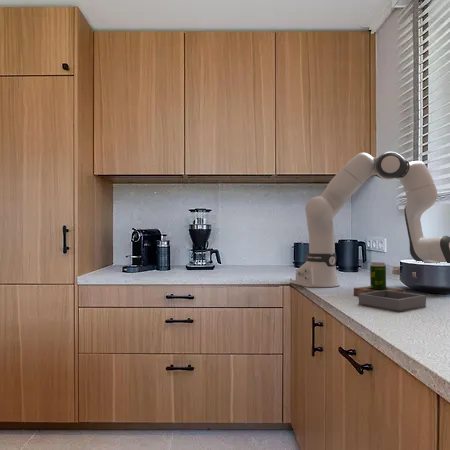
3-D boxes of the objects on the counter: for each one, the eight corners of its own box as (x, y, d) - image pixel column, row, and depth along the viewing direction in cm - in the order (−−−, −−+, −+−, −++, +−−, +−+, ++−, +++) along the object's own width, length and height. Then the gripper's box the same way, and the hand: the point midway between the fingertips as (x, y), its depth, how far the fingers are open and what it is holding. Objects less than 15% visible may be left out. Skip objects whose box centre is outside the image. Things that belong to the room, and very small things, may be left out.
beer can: (381, 294, 140) (381, 262, 140) (389, 296, 134) (388, 263, 134) (367, 294, 139) (367, 262, 139) (375, 297, 134) (374, 263, 134)
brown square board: (353, 295, 138) (353, 288, 139) (374, 292, 145) (374, 285, 145) (383, 299, 128) (382, 292, 128) (403, 296, 135) (403, 289, 135)
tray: (358, 304, 120) (358, 293, 120) (385, 300, 127) (385, 289, 128) (399, 312, 108) (398, 300, 108) (425, 306, 116) (425, 295, 116)
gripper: (407, 261, 156) (382, 263, 151) (453, 265, 137) (426, 266, 132) (407, 276, 156) (382, 278, 151) (454, 282, 137) (427, 284, 132)
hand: (403, 273), depth 141 cm, fingers open, 8 cm apart
